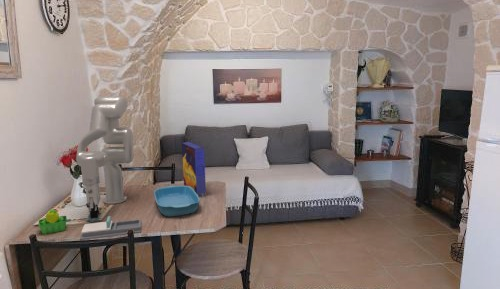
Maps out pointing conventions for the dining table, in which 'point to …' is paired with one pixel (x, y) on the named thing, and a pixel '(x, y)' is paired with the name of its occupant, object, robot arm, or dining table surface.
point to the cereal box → (194, 167)
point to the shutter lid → (97, 226)
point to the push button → (90, 216)
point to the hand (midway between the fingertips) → (95, 215)
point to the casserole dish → (176, 200)
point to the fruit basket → (52, 222)
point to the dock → (115, 229)
